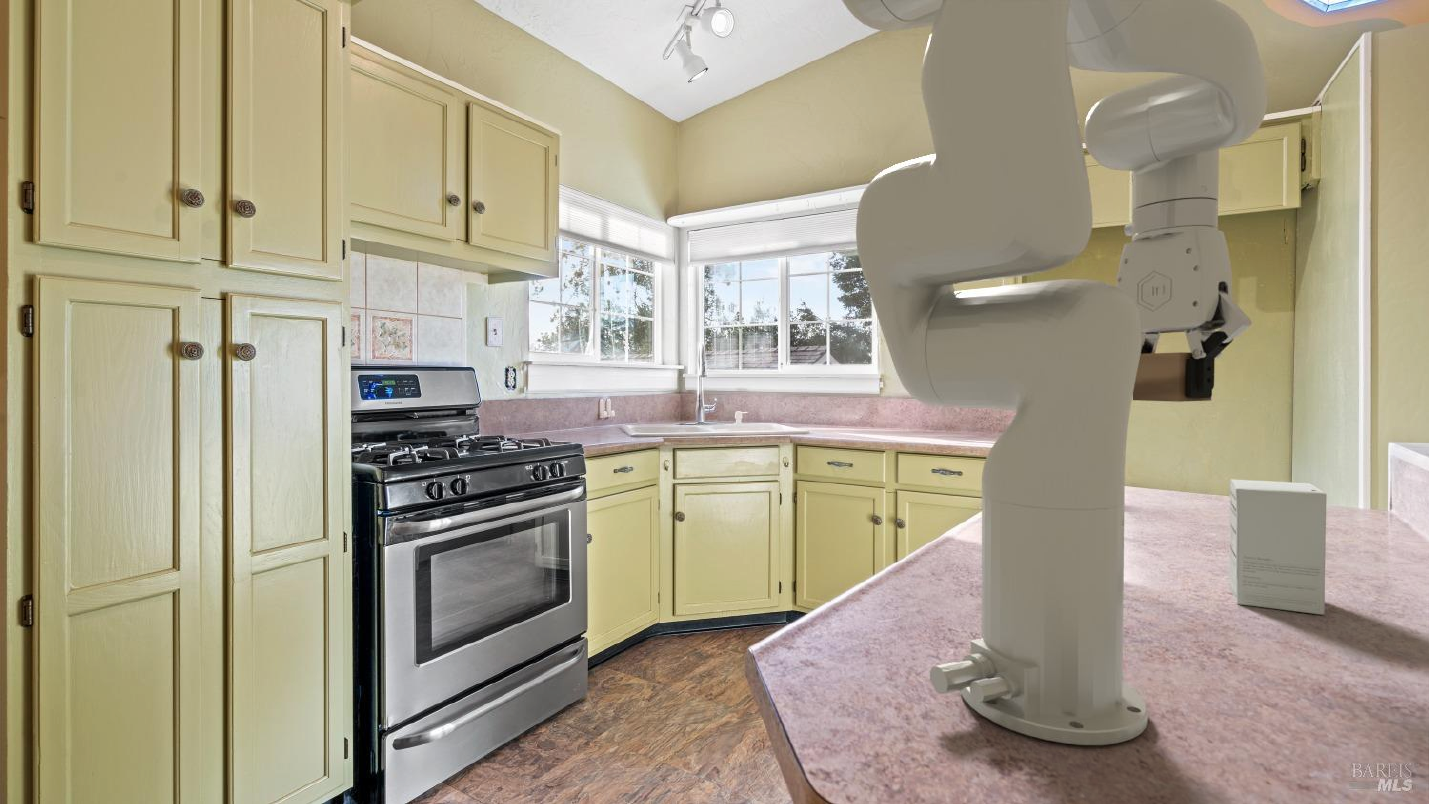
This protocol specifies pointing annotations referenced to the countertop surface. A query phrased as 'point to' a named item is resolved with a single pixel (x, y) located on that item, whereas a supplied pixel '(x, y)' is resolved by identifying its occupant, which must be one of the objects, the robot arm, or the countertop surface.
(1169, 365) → the walnut cube
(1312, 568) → the supplement box
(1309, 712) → the countertop surface
